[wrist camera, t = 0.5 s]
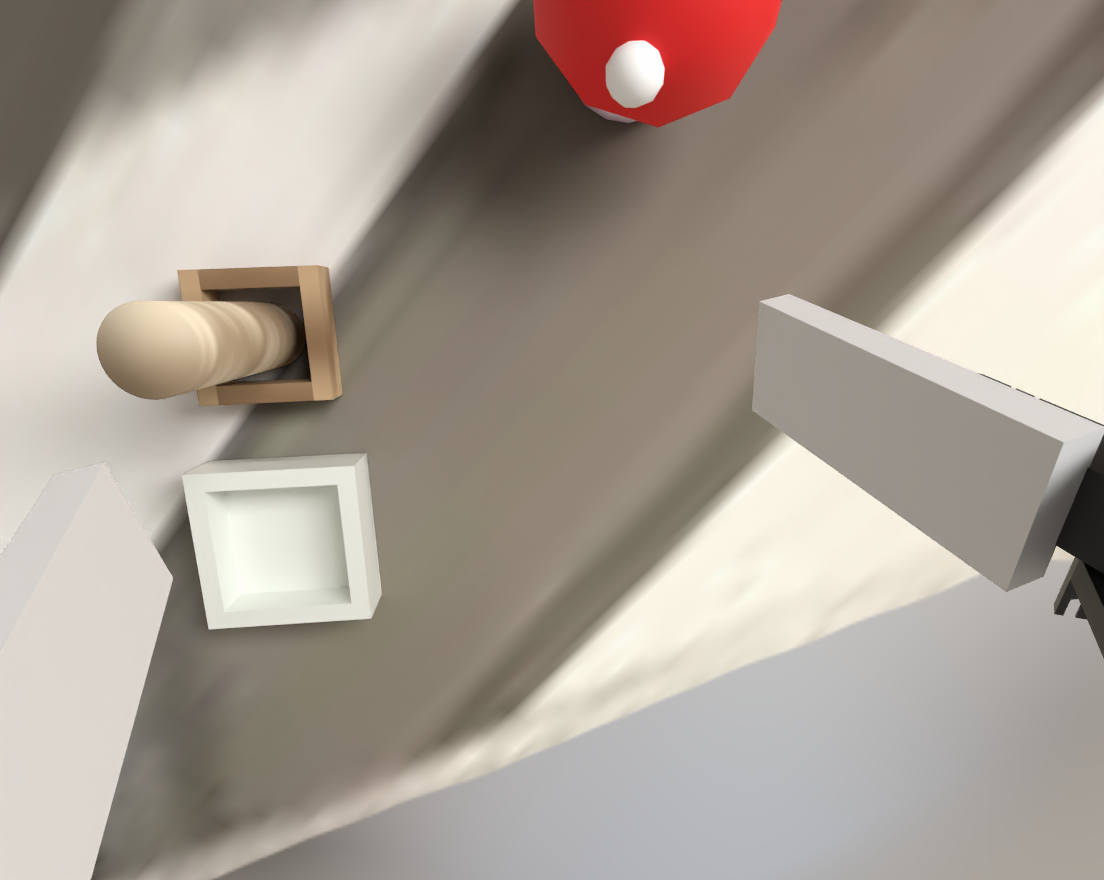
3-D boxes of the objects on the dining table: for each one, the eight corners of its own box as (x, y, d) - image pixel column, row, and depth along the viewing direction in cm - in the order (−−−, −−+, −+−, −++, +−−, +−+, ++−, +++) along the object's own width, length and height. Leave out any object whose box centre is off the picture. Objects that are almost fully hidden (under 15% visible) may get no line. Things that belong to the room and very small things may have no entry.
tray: (208, 461, 36) (181, 475, 33) (366, 452, 36) (354, 466, 33) (232, 603, 37) (208, 629, 35) (381, 594, 38) (371, 618, 35)
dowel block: (196, 272, 33) (177, 270, 31) (328, 267, 34) (317, 265, 32) (216, 400, 35) (199, 405, 33) (342, 394, 35) (332, 399, 33)
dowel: (233, 303, 34) (87, 302, 22) (300, 300, 34) (190, 298, 22) (243, 368, 35) (106, 401, 23) (308, 366, 35) (206, 397, 23)
